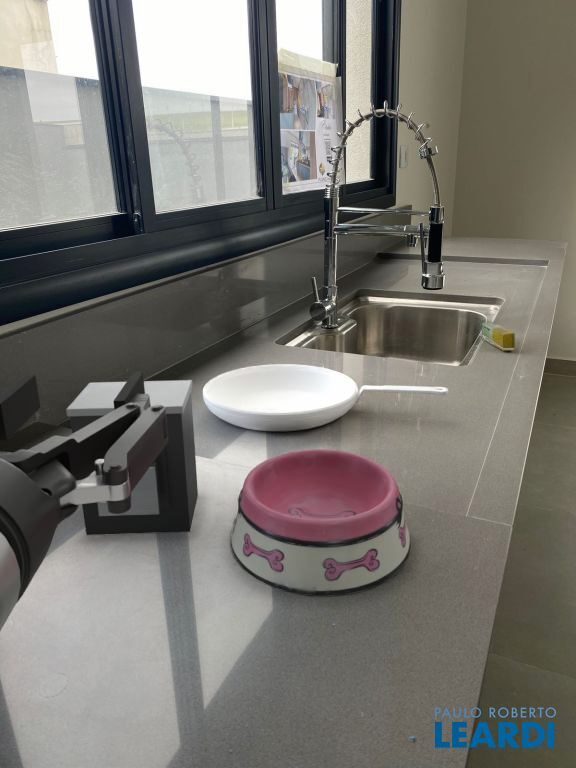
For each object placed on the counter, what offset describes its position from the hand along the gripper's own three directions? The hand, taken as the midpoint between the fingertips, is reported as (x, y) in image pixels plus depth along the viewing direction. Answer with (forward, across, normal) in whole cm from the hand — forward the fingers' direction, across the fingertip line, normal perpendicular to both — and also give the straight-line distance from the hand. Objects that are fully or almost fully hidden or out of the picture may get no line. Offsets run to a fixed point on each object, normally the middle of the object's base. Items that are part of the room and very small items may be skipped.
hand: (86, 390), depth 47 cm
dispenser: (+15, 0, -20) cm, 25 cm away
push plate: (+9, 0, -16) cm, 18 cm away
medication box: (+84, +65, -20) cm, 108 cm away
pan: (+46, +23, -20) cm, 55 cm away
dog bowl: (+9, +19, -20) cm, 29 cm away
